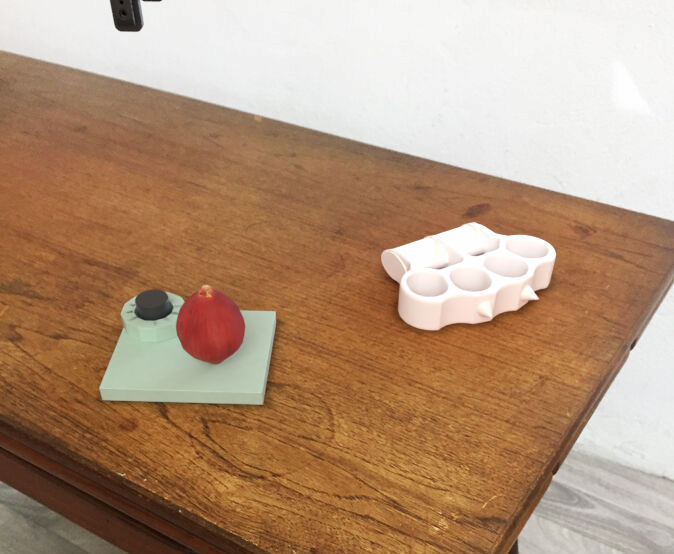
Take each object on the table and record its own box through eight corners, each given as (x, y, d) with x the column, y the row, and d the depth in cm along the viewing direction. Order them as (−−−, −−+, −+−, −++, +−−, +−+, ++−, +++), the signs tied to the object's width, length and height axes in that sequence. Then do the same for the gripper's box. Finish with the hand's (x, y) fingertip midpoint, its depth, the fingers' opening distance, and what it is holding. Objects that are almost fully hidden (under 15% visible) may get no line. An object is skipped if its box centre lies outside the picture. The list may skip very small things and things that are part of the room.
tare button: (134, 321, 68) (131, 307, 67) (142, 302, 70) (139, 288, 69) (167, 322, 68) (164, 308, 67) (173, 303, 70) (171, 289, 69)
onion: (176, 350, 67) (162, 272, 62) (238, 336, 69) (229, 259, 63) (191, 389, 64) (177, 310, 58) (256, 373, 65) (248, 295, 59)
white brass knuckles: (487, 234, 85) (580, 296, 76) (354, 279, 78) (439, 352, 69) (492, 206, 83) (588, 267, 74) (355, 250, 76) (443, 323, 67)
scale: (102, 400, 65) (94, 373, 63) (135, 316, 73) (129, 290, 71) (263, 404, 64) (260, 378, 62) (276, 320, 73) (275, 294, 71)
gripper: (129, -242, 46) (169, 43, 58) (173, -253, 56) (200, -8, 68) (9, -243, 46) (74, 41, 58) (74, -254, 56) (118, -10, 68)
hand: (142, 14), depth 63 cm, fingers open, 8 cm apart
